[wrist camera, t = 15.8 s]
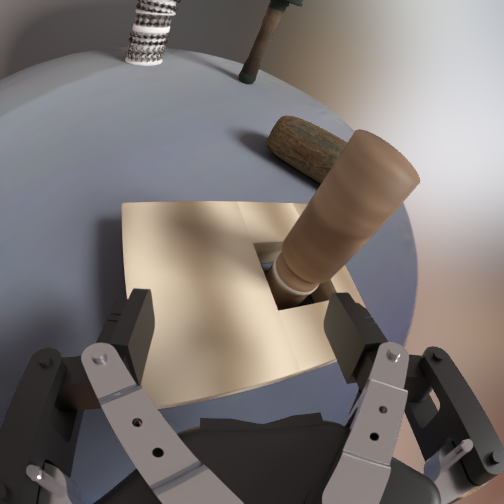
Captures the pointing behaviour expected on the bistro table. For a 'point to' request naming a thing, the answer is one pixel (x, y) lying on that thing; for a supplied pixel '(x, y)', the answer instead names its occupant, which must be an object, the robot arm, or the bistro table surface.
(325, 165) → the stone weight
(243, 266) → the board
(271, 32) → the potato masher grenade
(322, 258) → the peg
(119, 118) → the bistro table surface
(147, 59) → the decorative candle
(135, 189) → the bistro table surface
